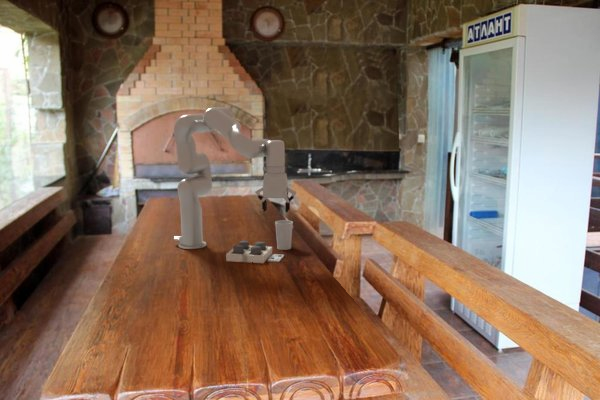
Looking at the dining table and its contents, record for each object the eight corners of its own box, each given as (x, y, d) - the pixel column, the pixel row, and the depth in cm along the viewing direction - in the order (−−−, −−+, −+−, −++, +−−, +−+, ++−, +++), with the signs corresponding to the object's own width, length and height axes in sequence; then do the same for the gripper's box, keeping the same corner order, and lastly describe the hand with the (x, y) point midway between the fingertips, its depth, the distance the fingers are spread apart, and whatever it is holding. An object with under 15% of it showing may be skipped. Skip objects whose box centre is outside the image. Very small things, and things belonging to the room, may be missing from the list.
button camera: (249, 256, 238) (249, 248, 237) (252, 253, 242) (252, 245, 241) (259, 257, 237) (259, 248, 236) (262, 254, 241) (262, 246, 240)
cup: (290, 250, 254) (290, 224, 252) (273, 249, 255) (273, 223, 253) (294, 246, 262) (294, 220, 259) (277, 245, 263) (277, 219, 261)
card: (267, 261, 238) (267, 259, 238) (272, 255, 246) (272, 253, 246) (279, 261, 237) (279, 260, 237) (284, 256, 245) (284, 254, 245)
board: (226, 261, 238) (226, 254, 238) (237, 251, 253) (237, 244, 252) (263, 263, 235) (263, 256, 234) (272, 253, 249) (272, 246, 249)
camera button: (232, 255, 239) (231, 247, 238) (235, 252, 243) (235, 244, 243) (242, 256, 238) (241, 248, 238) (245, 253, 242) (245, 245, 242)
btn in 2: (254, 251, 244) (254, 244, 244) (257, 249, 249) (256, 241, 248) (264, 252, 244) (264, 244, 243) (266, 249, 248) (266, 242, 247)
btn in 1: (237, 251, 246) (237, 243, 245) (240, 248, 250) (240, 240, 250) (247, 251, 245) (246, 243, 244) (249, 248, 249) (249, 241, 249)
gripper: (252, 171, 233) (253, 212, 236) (294, 171, 230) (294, 213, 233) (257, 168, 240) (258, 208, 243) (298, 169, 237) (298, 210, 240)
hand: (276, 211), depth 238 cm, fingers open, 9 cm apart
